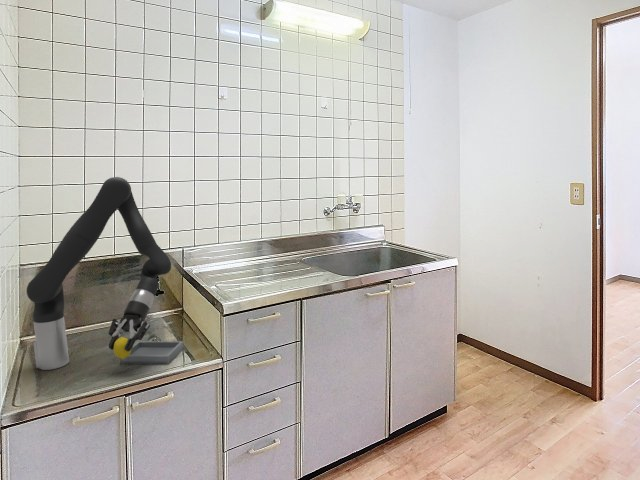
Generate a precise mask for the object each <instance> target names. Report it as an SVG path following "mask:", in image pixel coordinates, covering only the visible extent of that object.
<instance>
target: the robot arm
mask: <svg viewBox="0 0 640 480" xmlns="http://www.w3.org/2000/svg"><path fill="white" fill-rule="evenodd" d="M117 210H118V212H119V214H120V215H121V217H122V220H123V222H124V224H125V226H126V229H127V232H128V234H129V236H130V239H131V241H132V242H133V244H134V246H135V248H136V250H137V252H138V253H139V254H140V255H141V256H146V257H147V258H148V259H147V260H146V261H145V262H144V263H143V266H142V269H141V271H140V272H141V273H140V279H139V282H138V284H137V286H136V287H135V290H134V292H132V295H131V297H130V298H129V300H128V303H127V304H126V307H125V309H124V311H123V316H122V317H121V318H120V319H116V318H113V319H112V320H111V324H110V326H109V330H108V335H109V336H110V337H111V339H110V341H109V343H108V349H110V350H112V351H114V343H115V341H116V340H117V339H119V338H120V337H123V335H125V334H126V333H129V338H127V339H128V342H127V344H126V346H125V348H124V349H125V350H126V351H130V350H131V349H132V347H133V345H134V344H136V341H143V340H142V339H143V338H144V336H145V335H146V333H147V331H148V330H149V328H150V327H151V325H150V324H149V322H147V321H146V318H147V316H148V314H149V312H150V309H151V307H152V305H153V303H154V299H155V297H156V295H157V292H158V290H159V288H160V282H159V281H158V279H157V277H158V276H164V275H167V274H168V273H170V271H171V269H172V262H171V260H170V259H171V258H169V256H168V255H167V254H166V252H164V250H163V249H162V248H161V246H159V245H158V244H157V242H156V240H155V238H154V236H153V234H152V232H151V230H150V229H149V226H148V225H147V223H146V221H145V220H144V218H143V216H142V214H141V213H140V211H139V208H138V205H137V203H136V200H135V198H134V194H133V190H132V186H131V184H130V182H129V181H128V180H127V179H125V178H124V177H120V176H113V177H110V178H109V177H108V179H106V180H105V181H104V182H103V184H102V185H101V188H100V189H99V191H98V193H97V194H96V196H95V198H94V200H93V202H92V203H91V204H90V205H89V207H88V208H87V209H86V210H85V211H84V212H83V213H82V214H81V215H80V216H79V217H78V219H77V220H75V222H74V223H73V225H71V227H70V228H69V230H68V231H67V232H66V234H65V235H64V236H63V238H62V240H61V241H60V242H59V243H58V246H57V247H56V249H55V250H54V252H53V253H52V255H51V257H50V259H49V260H48V261H47V263H46V264H45V265H44V266H43V267H42V269H40V271H39V272H38V273H37V274H36V275H35V276H34V277H33V278H32V279H31V280H30V281H29V283H28V284H27V286H26V295H27V298H28V299H29V300H30V301H31V302H33V304H34V307H33V308H34V309H33V312H32V321H33V329H34V330H33V331H34V336H35V338H34V339H35V341H33V343H32V344H33V351H34V358H35V368H37V369H40V370H43V371H49V370H51V371H52V370H56V369H59V368H62V367H65V366H66V365H68V363H70V357H69V348H68V340H67V339H68V338H67V331H66V322H65V321H66V320H65V313H64V311H65V310H64V309H65V297H64V287H63V286H64V285H63V282H64V281H65V279H66V278H67V276H68V275H69V273H70V272H71V271H72V270H73V269H74V268H75V267H77V265H78V264H80V262H81V261H82V260H83V259H84V258H85V257H86V256H87V254H88V253H89V252H90V251H91V250H92V248H93V246H94V245H96V242H98V240H99V239H100V236H101V235H102V233H103V231H104V229H105V227H106V225H107V224H108V222H109V220H110V219H111V217H112V216H113V214H114V213H115V212H117Z"/></svg>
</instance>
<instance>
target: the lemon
mask: <svg viewBox="0 0 640 480" xmlns="http://www.w3.org/2000/svg"><path fill="white" fill-rule="evenodd" d="M128 339H129V338H127V337H124V336H121V337H120V338H119V339H117V340H116V341H115V343H114V350H113V354H114V355H115V357H116V358H118V359H119V358H121V359H125V358H126V357H128V356H129V355H130V353H131V350H132V349H131V350H130V351H126V350H125V349H124V348H125V346H126V344H127V342H128Z"/></svg>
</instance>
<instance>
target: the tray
mask: <svg viewBox="0 0 640 480" xmlns="http://www.w3.org/2000/svg"><path fill="white" fill-rule="evenodd" d="M184 344H185V343H184V341H177V340H176V341H175V340H174V341H173V340H172V341H168V340H167V341H164V340H162V341H161V340H160V341H156V340H155V341H154V340H153V341H150V340H149V341H148V340H144V341H143V340H137V342H135V343H134V345H133V347H132V350H131V353H130V355H129V356H128V357H126V358H125V359H121V358H118V359H119V365H166V366H167V365H170V364H171V363H172V362H173V361H174V359H176V357H177V356H178V355H180V354H181V353H182V351H183V350H184V349H185V348H184Z"/></svg>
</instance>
